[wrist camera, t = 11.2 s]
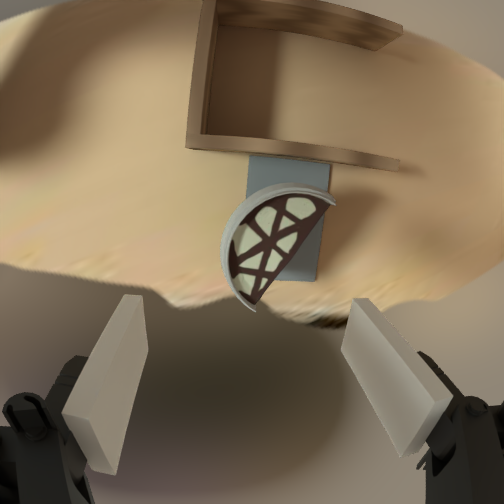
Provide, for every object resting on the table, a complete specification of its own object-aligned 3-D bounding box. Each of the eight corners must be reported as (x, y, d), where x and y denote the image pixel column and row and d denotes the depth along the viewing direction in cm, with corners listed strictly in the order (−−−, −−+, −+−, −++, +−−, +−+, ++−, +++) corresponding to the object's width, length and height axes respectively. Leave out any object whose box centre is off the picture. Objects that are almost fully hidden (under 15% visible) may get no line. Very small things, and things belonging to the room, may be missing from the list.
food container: (264, 154, 32) (279, 152, 22) (309, 187, 33) (340, 199, 24) (200, 245, 34) (190, 280, 25) (245, 274, 36) (252, 316, 26)
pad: (239, 277, 36) (239, 278, 36) (249, 155, 32) (249, 155, 32) (313, 280, 37) (314, 281, 37) (329, 164, 33) (330, 164, 33)
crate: (194, 149, 31) (185, 147, 25) (209, 16, 27) (205, -12, 20) (368, 167, 33) (398, 171, 27) (374, 43, 29) (402, 25, 22)
